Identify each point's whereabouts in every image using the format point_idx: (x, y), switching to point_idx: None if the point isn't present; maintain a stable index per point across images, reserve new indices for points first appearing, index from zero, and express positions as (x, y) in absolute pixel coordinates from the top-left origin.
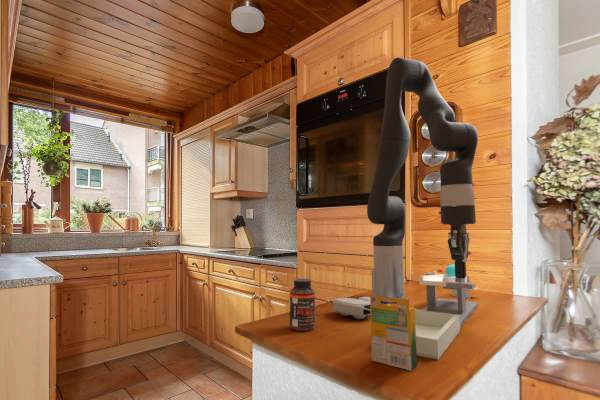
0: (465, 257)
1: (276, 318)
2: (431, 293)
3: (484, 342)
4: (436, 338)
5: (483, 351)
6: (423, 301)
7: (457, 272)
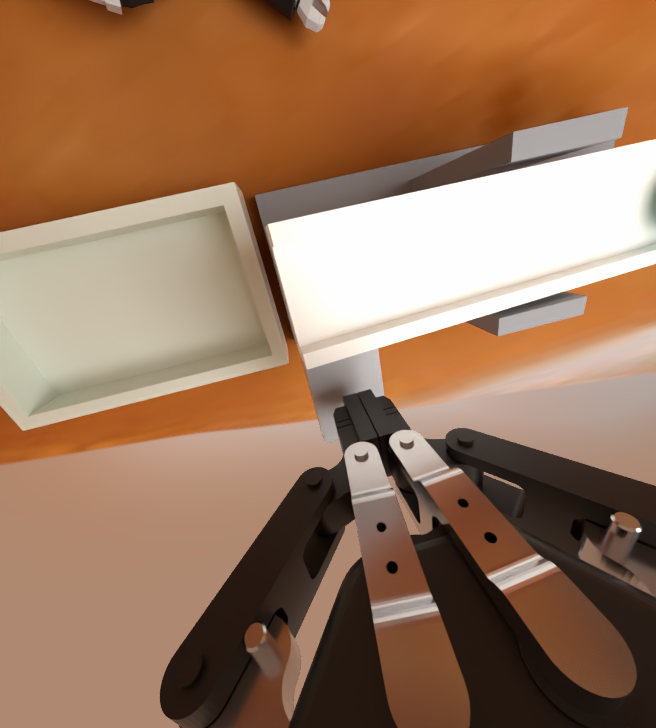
0: (402, 499)
1: None
2: (459, 181)
3: (249, 412)
4: (29, 425)
5: (193, 431)
6: (590, 57)
7: (335, 423)
